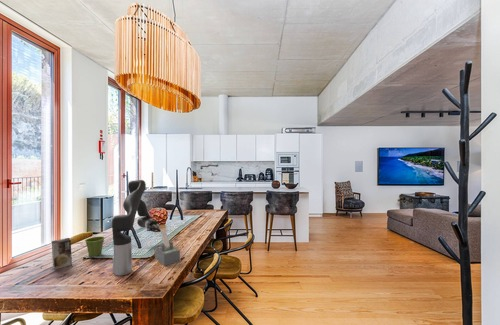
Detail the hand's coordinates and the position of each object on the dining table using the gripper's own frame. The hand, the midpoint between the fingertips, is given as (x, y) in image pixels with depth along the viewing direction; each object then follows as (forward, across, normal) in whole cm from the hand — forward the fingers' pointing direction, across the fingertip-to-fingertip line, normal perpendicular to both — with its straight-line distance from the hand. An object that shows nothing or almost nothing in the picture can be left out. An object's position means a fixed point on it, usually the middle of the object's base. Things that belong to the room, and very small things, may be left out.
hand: (160, 229), depth 171 cm
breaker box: (+11, 0, +17) cm, 20 cm away
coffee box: (-25, -53, +17) cm, 61 cm away
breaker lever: (+12, 0, +9) cm, 15 cm away
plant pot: (-31, -34, +18) cm, 49 cm away
